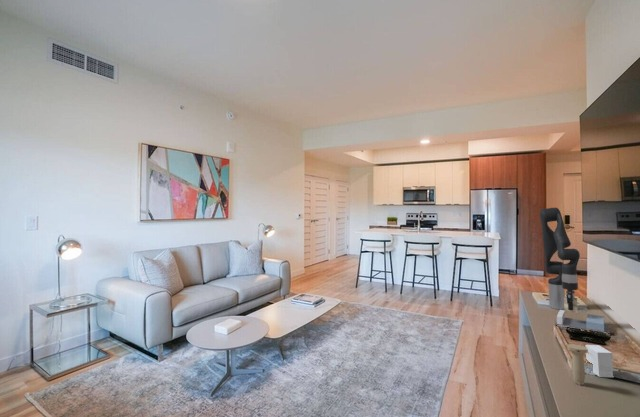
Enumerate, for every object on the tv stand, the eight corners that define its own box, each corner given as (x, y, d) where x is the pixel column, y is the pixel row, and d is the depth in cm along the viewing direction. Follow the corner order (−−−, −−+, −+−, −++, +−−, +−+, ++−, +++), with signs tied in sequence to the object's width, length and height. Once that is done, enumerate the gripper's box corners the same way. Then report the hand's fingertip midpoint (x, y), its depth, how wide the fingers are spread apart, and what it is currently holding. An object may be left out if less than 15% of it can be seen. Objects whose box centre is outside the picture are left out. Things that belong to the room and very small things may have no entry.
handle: (590, 388, 121) (588, 350, 121) (570, 384, 124) (568, 347, 124) (588, 382, 125) (586, 346, 125) (568, 378, 128) (566, 343, 129)
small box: (614, 378, 127) (612, 353, 128) (598, 377, 129) (597, 352, 129) (600, 368, 135) (599, 344, 135) (586, 367, 136) (585, 344, 137)
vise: (558, 318, 196) (557, 309, 196) (609, 327, 180) (608, 317, 180) (555, 325, 185) (554, 316, 185) (609, 335, 168) (608, 325, 168)
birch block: (565, 309, 189) (564, 296, 189) (577, 311, 185) (577, 298, 185) (564, 311, 186) (563, 297, 186) (577, 312, 182) (576, 299, 182)
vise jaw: (587, 320, 186) (587, 313, 186) (604, 323, 181) (604, 316, 181) (586, 328, 175) (586, 321, 175) (604, 331, 169) (603, 324, 170)
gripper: (563, 278, 193) (564, 305, 193) (560, 282, 183) (561, 310, 183) (578, 279, 188) (580, 307, 188) (576, 284, 178) (578, 313, 178)
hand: (571, 309), depth 185 cm, fingers closed on birch block, 4 cm apart
